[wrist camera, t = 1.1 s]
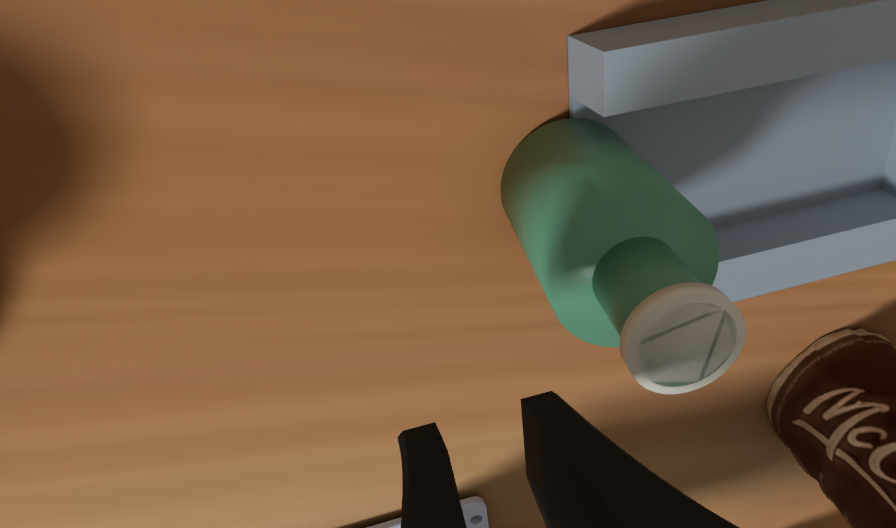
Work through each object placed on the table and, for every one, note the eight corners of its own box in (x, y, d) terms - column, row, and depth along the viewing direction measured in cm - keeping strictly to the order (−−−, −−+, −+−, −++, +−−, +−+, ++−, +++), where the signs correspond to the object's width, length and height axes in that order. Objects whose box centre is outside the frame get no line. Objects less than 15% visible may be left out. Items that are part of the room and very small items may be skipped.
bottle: (632, 230, 24) (775, 403, 16) (507, 254, 23) (590, 441, 16) (631, 106, 21) (798, 236, 14) (493, 131, 21) (582, 279, 13)
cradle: (900, 218, 27) (952, 245, 25) (573, 299, 25) (603, 335, 23) (962, -35, 23) (1034, -28, 21) (567, 35, 20) (603, 51, 18)
